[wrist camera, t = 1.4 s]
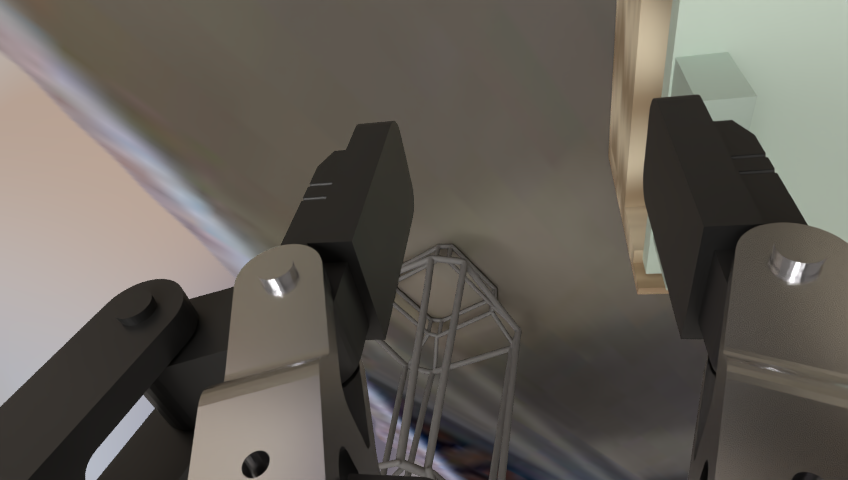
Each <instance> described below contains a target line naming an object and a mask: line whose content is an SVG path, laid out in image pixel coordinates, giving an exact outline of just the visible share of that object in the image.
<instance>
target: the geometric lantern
mask: <svg viewBox="0 0 848 480" xmlns="http://www.w3.org/2000/svg"><path fill="white" fill-rule="evenodd" d="M446 248H448V254H447V256H439V252H440V249H446ZM452 250H453V251H454V252H455V253H456V254H457V255H458V256H459V257H460V258H456V257H451V255H452ZM434 251H435V255H430V256H427V255H429V254H431V253H432V252H434ZM425 256H427V257H425ZM423 257H425V258H423ZM421 258H422V259H421ZM419 259H420V260H419ZM437 262H441V263H448V264H449V265H450V266H451V267H452V268H453V269H454V270H455V271H456V272H457V273H458V274H459V279H458V284H457V290H456V295H455V300H454V306H453V311H452V315H450V316H448V317H445V318H443V319H440V318H431V317H430V316H429V315H427V310H428V303H429V296H430V290H431V282H432V275H433V267H434V264H435V263H437ZM455 264H459V265H461V268H460V269H459V268H458V267H457V266H456V265H455ZM419 266H420V267H419ZM417 267H418V268H417ZM414 268H416V269H414ZM425 268H426V276H425V283H424V289H423V295H422V301H421V308H420V307H418V306H417V305H416V304H415V303H414V302H413V301H412V300H410V299H409V298H408V297H407V296H406V295H405V294H404V293H402V292H401V291H400V290H399V289H398V288H397V290H396V292H397V293H398V294H399V295H400V296H401V297H403V298H404V299H405V300H406V301H407V302H408V303H409V304H411V305H412V306H413V307H414V308H415V309H416V310H417V311H419V312H420V314H419V320H418V322H417V321H416V320H415V319H414V318H412V317H411V316H410V315H409V314H408V313H407V312H405V311H404V310H403V309H402V308H401V307H400V306H398V305H397V304H396V303H395V302H394V303H393V306H394V307H395V308H396V309H397V310H398V311H399V312H401V313H402V314H403V315H404V316H405V317H406V318H408V319H409V320H410V321H411V322H412V323H414V324H415V325H416V326H417V332H416V338H415V344H414V351H413V356H412V358H411V359H410V361H409V363H406V362H405V361H404V360H403V359H402V358H401V357H400V356H399V355H398V354H397V353H396V352H395V351H394V350H393V349H392V348H391V347H390V346H389V345H388V344H387V343H386V342H385V341H384V340H375V341H376V342H377V343H379V344H380V345H381V346H382V347H383V348H384V349H385V350H386V351H387V352H388V353H389V354H390V355H391V356H392V357H393V358H394V359H395V360H396V361H397V362H398V363H400V364H401V365H402V366H403V368H402V373H401V378H400V382H399V387H398V392H397V396H396V401H395V406H394V410H393V415H392V420H391V424H390V429H389V434H388V439H387V443H386V448H385V453H384V458H383V462H382V463H378V465H379V469H381V472H380V473H381V475H386V474H387V469H388V468H390V467H395V466H398V467H399V468H398V470H397V471H396V472H395V473H394V474H393V475H392V476H399V475H400V474H401V473H402V472H403V470H405V475H404V476H411V474H412V473H413V474H416V475H418V476H421V477H428V478H431V479H434V480H445V479H444V478H443V477H442V476H441V475H439V474H438V473H437V472H436V471H435V470H433V469H432V464H433V458H434V452H435V447H436V441H437V436H438V431H439V425H440V419H441V414H442V408H443V403H444V397H445V391H446V386H447V380H448V374H449V370H451V369H454V368H458V367H461V366H464V365H468V364H471V363H474V362H478V361H481V360H484V359H488V358H491V357H494V356H498V355H501V354H505V353H508V352H509V353H508V359H507V366H506V372H505V379H504V385H503V392H502V398H501V405H500V411H499V417H498V424H497V430H496V437H495V443H494V450H493V456H492V463H491V469H490V476H489V480H496V477H497V470H498V463H499V456H500V464H499V473H498V480H505V478H506V468H507V459H508V449H509V440H510V430H511V421H512V411H513V402H514V392H515V383H516V374H517V364H518V355H519V346H520V337H521V328H520V327H519V326H518V325H517V324H516V323H515V321H514V320H513V319H512V318H511V316H510V315H509V314H508V312H507V311H506V310H505V309H504V307H503V306H502V305H501V304H500V302H499V301H498V300H497V288H496V287H495V286H494V285H493V284H492V283H491V282H490V281H489V280H488V279H487V278H486V277H485V276H484V275H483V274H482V273H481V272H480V271H479V270H478V269H477V268H476V267H475V266H474V265H473V264H472V263H471V262H470V261H469V260H468V259H467V258H466V257H465V256H464V255H463V254H462V253H461V252H460V251H459V250H458V249H457V248H456V247H455V246H454V245H453V244H443V245H437V246H435V247H433V248H431V249H429V250H428V251H426V252H424V253H422V254H420V255H418V256H416V257H414V258H413V259H411V260H409V261H407V262H405V263H403V264H402V268H401V272H400V274H401V273H404V272H407V271H409V270H412V269H414V270H412V271H410V272H408V273H406V274H404V275H402V276H400V277H399V281H401V280H403V279H405V278H407V277H409V276H411V275H413V274H415V273H417V272H419V271H421V270H423V269H425ZM466 272H468V273H469V275H470V276H471V277H472V278H473V280H474V281H475V282H476V283H477V285H478V286H479V287H480V288H481V290H482V291H483V292H484V293H485V295H486V296H487V297H488V298H487V297H486V296H485V295H484V294H483V293H482V292H481V291H480V290H479V289H478V288H477V287H476V286H475V285H474V284H473V283H472V282H471V281H470V280H469V279H468V278H467V276H466ZM478 275H479V276H480V277H481V278H482V279H483V280H484V281H485V282H486V283H487V284H488V285H489V286H490V287H491V288H492V291H490V290H489V288H488V287H487V286H486V284H485V283H484V282H483V281H482V279H481V278H480V277H479V276H478ZM399 281H398V282H399ZM465 281H466V282H467V283H468V284H469V285H470V286H471V287H472V288H473V289H474V290H475V291H476V292H477V293H478V294H479V295H480V296H481V297H482V298H483V299H484V301H481V302H479V303H477V304H475V305H472V306H470V307H468V308H466V309H463V310H461V311H460V307H461V301H462V296H463V290H464V284H465ZM486 303H487V304H488V305H489V306H490V308H489V311H488V312H486V313H484V314H481V315H479V316H477V317H475V318H473V319H470V320H468V321H466V322H464V323H461V324H459V325H457V324H458V318H459V315H461V314H464V313H466V312H468V311H470V310H473V309H475V308H477V307H479V306H482V305H484V304H486ZM494 310H495V311H496V312H497V313H498V314H499V315H500V316H502V317H503V318H504V319H505V320H506V321H507V322H508V323H509V325H510V326H511V327H512V328H513V330H514V331H515V335H514V338H513V340H512V338H511V336H510V335H509V333H508V332H507V330H506V329H505V327H504V326H503V324H502V323H501V321H500V320H499V318H498V317H497V315H496V314H495V312H494ZM489 315H492V316H493V318H494V319H495V321H496V322H497V324H498V326H499V327H500V329H501V330H502V332H503V333H504V335H505V336H506V338H507V339H508V341H509V342H510V344H511V345H510V346H507V347H504V348H500V349H497V350H494V351H491V352H487V353H484V354H481V355H477V356H474V357H471V358H468V359H464V360H461V361H458V362H454V363H451V357H452V352H453V346H454V341H455V335H456V330H458V329H460V328H462V327H464V326H466V325H469V324H471V323H473V322H475V321H478V320H480V319H482V318H484V317H487V316H489ZM426 318H427V319H428V320H429V324H428V328H427V330H426V329H425V323H426ZM450 319H451V322H450V327H449V329H448V330H446V331H444V332H442V326H443V322H445V321H448V320H450ZM433 322H440V323H439V328H438V334H435V333H431V332H430V331H431V327H432V323H433ZM441 332H442V333H441ZM424 333H425V334H426V335H425V337H424V338H423V336H424ZM446 334H448V338H447V343H446V348H445V354H444V359H443V364H442V366H441V367H438V368H437V356H438V338H440V337H442V336H444V335H446ZM429 336H432V337H435V343H434V361H433V369H432V370H430V369H426V368H422V367H419V363H420V356H421V349H422V347H423V345H424V344H425V342H426V340H427V339H428V337H429ZM450 363H451V364H450ZM408 369H409V370H410V375H409V381H408V388H407V394H406V400H405V406H404V412H403V418H402V424H401V430H400V436H399V442H398V448H397V454H396V460H391V461H389V459H390V454H391V449H392V444H393V439H394V434H395V430H396V425H397V420H398V415H399V410H400V405H401V400H402V395H403V390H404V385H405V380H406V376H407V371H408ZM418 372H420V373H424V374H428V375H429V377H428V381H427V385H426V388H425V392H424V396H423V400H422V405H421V409H420V413H419V417H418V421H417V425H416V430H415V434H414V438H413V442H412V446H411V450H410V455H409V459H408V461H406V460H405V454H406V448H407V442H408V435H409V429H410V422H411V416H412V409H413V403H414V396H415V389H416V383H417V376H418ZM438 373H441V375H440V380H439V385H438V391H437V396H436V401H435V407H434V412H433V417H432V423H431V428H430V434H429V440H428V446H427V452H426V458H425V464H424V467H421V466H419V465H416V464H414V461H415V456H416V452H417V448H418V443H419V439H420V435H421V430H422V426H423V421H424V417H425V413H426V408H427V404H428V400H429V396H430V392H431V387H432V383H433V379H434V376H435V374H438ZM502 436H503V438H502ZM501 443H502V447H501ZM500 450H501V455H500Z"/></svg>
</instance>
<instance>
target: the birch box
mask: <svg viewBox="0 0 848 480" xmlns="http://www.w3.org/2000/svg"><path fill="white" fill-rule="evenodd" d="M672 1H673V0H617V7H616V26H615V44H614V63H613V82H612V101H611V120H610V138H609V161H610V166H611V170H612V175H613V180H614V185H615V189H616V194H617V199H618V204H619V208H620V213H621V218H622V223H623V227H624V232H625V237H626V242H627V246H628V251H629V256H630V261H631V265H632V270H633V275H634V280H635V284H636V289H637V294H669V292H668V290H666V288H665V284H664V280H663V276H662V273H659V274H646V272H645V268H644V264H643V250H644V241H645V233H646V224H647V216H648V213H647V210H646V206H645V201H644V193H643V169H644V159H645V150H646V140H647V130H648V120H649V111H650V105H651V102H652V100H653V98H661V95H662V87H663V78H664V69H665V61H666V52H667V44H668V35H669V26H670V18H671V9H672Z"/></svg>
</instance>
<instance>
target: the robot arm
mask: <svg viewBox="0 0 848 480" xmlns="http://www.w3.org/2000/svg"><path fill="white" fill-rule="evenodd" d="M643 193H644V201H645V206H646V210H647V213H648V217H649V221H650V225H651V228H652V232H653V236H654V240H655V243H656V247H657V251H658V254H659V258H660V262H661V266H662V269H663V273H664V277H665V281H666V284H667V288H668V292H669V296H670V299H671V303H672V307H673V311H674V314H675V318H676V322H677V326H678V329H679V333H680V337H681V339H704V342H705V346H706V349H707V352H708V357H707V361H706V365H705V369H704V373H703V380H702V387H701V394H700V400H699V407H698V414H697V421H696V428H695V435H694V441H693V448H692V455H691V462H690V469H689V475H688V480H848V243H847V242H845V241H844V240H842V239H841V238H839V237H838V236H836V235H834V234H832V233H830V232H827V231H825V230H822V229H819V228H816V227H813V226H809V225H808V224H807V223H806V221H805V219H804V217H803V216H802V214H801V212H800V211H799V209H798V207H797V206H796V204H795V202H794V200H793V199H792V197H791V195H790V194H789V192H788V190H787V189H786V187H785V185H784V184H783V182H782V180H781V178H780V177H779V175H778V173H775V168H774V167H773V165H772V163H771V161H770V160H769V158H768V157H766V153H765V151H764V150H763V148H762V146H761V144H760V143H759V141H758V139H757V138H756V136H755V135H754V134H753V133H751V132H750V131H748V130H747V129H745V128H744V127H742V126H741V125H739V124H738V123H736V122H735V121H733V120H724V121H713V120H712V118H711V116H710V114H709V112H708V110H707V108H706V106H705V104H704V102H703V100H702V98H701V96H700V95H699V94H694V95H683V96H672V97H661V98H653V100H652V102H651V105H650V111H649V120H648V130H647V140H646V150H645V159H644V169H643ZM303 199H304V201H301V203H300V205H299V207H298V210H297V212H296V214H295V216H294V218H293V220H292V222H291V224H290V227H289V229H288V231H287V233H286V235H285V237H284V239H283V241H282V244H281V246H277V247H274V248H271V249H269V250H266V251H264V252H262V253H261V254H259V255H257V256H256V257H254V258H253V259H251V260H250V261H249V262H248V263H247V264H246V265H245V266H244V267H243V268H242V269H241V271H240V272H239V274H238V275H237V278H236V280H235V284H234V287H231V288H228V289H225V290H221V291H218V292H213V293H210V294H206V295H203V296H199V297H196V298H192V299H188V297H187V296H186V294H185V292H184V291H183V289H182V288H181V287H180V285H179V284H177V283H176V282H174V281H171V280H167V279H155V280H150V281H146V282H142V283H139V284H137V285H135V286H132V287H130V288H128V289H126V290H125V291H123V292H121V293H120V294H118V295H117V296H116V297H114V298H113V299H112V300H111V301H110V302H108V303H107V304H106V305H105V306H104V307H103V308H102V309H101V310H100V311H99V312H98V313H97V314H96V315H95V316H94V317H93V318H92V319H91V320H90V321H89V322H88V323H86V325H84V326H83V327H82V328H81V329H80V331H78V332H77V333H76V334H75V335H74V336H73V337H72V338H71V339H70V340H69V341H68V342H67V343H66V344H65V345H64V346H63V347H62V348H61V349H60V350H59V351H58V352H57V353H56V354H54V355H53V356H52V357H51V359H50V360H48V361H47V362H46V363H45V364H44V365H43V366H42V367H41V368H40V369H39V370H38V371H37V372H36V373H35V374H34V375H33V376H32V377H31V378H30V379H29V380H28V381H27V382H26V383H25V384H24V385H23V386H21V387H20V388H19V389H18V390H17V391H16V392H15V393H14V394H13V395H12V396H11V397H10V398H9V399H8V400H7V401H6V402H5V403H4V404H3V405H2V406H1V407H0V480H85V471H86V468H87V464H88V462H89V460H90V458H91V456H92V455H93V453H94V452H95V451H96V449H97V448H98V447H99V446H100V444H102V442H103V441H104V440H105V439H106V438H107V436H108V435H109V434H110V433H111V432H112V431H113V429H114V428H115V427H116V426H117V425H118V424H119V422H120V421H121V420H122V419H123V418H124V416H125V415H126V414H127V413H128V412H129V411H130V409H131V408H132V407H133V406H134V405H135V403H136V402H137V401H138V400H139V399H140V398H141V396H142V395H144V396H145V397H146V398H147V399H148V401H149V402H150V403H151V404H152V405H153V406H154V407H155V409H154V410H153V411H152V413H151V414H150V415H149V416H148V418H147V419H146V420H145V421H144V423H143V424H142V425H141V426H140V427H139V429H138V430H137V431H136V432H135V434H134V435H133V436H132V437H131V438H130V440H129V441H128V442H127V443H126V445H125V446H124V447H123V448H122V450H121V451H120V452H119V453H118V454H117V456H116V457H115V458H114V459H113V461H112V462H111V463H110V464H109V465H108V467H107V468H106V469H105V470H104V472H103V473H102V474H101V475H100V476H99V478H98V479H97V480H434V479H431V478H428V477H412V476H391V475H381V473H380V469H379V465H378V460H377V454H376V447H375V440H374V432H373V425H372V418H371V411H370V403H369V396H368V389H367V382H366V375H365V369H364V365H363V362H362V360H361V355H362V351H363V347H364V343H365V340H385V339H386V335H387V330H388V326H389V321H390V317H391V312H392V308H393V303H394V299H395V294H396V290H397V285H398V281H399V276H400V272H401V268H402V263H403V259H404V254H405V250H406V245H407V241H408V236H409V232H410V227H411V223H412V218H413V212H414V195H413V188H412V183H411V178H410V174H409V169H408V165H407V161H406V156H405V152H404V147H403V143H402V138H401V134H400V130H399V127H398V125H397V123H396V122H395V121H388V122H377V123H366V124H358V125H357V126H356V128H355V130H354V132H353V135H352V137H351V140H350V142H349V144H348V147H347V149H346V150H342V151H334V152H333V153H332V154H331V155H330V156H329V157H328V158H327V159H326V160H324V161H323V162H322V163H321V164H320V165H319V166H318V167H317V169H316V171H315V174H314V176H313V178H312V180H311V182H310V187H308V188H307V191H306V193H305V195H304V197H303Z"/></svg>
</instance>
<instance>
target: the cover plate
mask: <svg viewBox="0 0 848 480" xmlns="http://www.w3.org/2000/svg"><path fill="white" fill-rule="evenodd" d="M694 94H699V95H700V96H701V98H702V100H703V102H704V104H705V106H706V108H707V110H708V112H709V114H710V116H711V118H712V120H713V121H724V120H733V121H735V122H736V123H738V124H739V125H741V126H742V127H744V128H745V129H747V130H748V131H750V132H751V133H753V134H754V135H755V136H756V138H757V139H758V141H759V143H760V144H761V146H762V148H763V150H764V151H765V153H766V157H768V158H769V160H770V161H771V163H772V165H773V167H774V168H775V173H778V175H779V177H780V178H781V180H782V182H783V184H784V185H785V187H786V189H787V190H788V192H789V194H790V195H791V197H792V199H793V200H794V202H795V204H796V206H797V207H798V209H799V211H800V212H801V214H802V216H803V217H804V219H805V221H806V223H807V224H808V225H809V226H813V227H816V228H819V229H822V230H825V231H827V232H830V233H832V234H834V235H836V236H838V237H839V238H841V239H842V240H844V241H845V242H847V243H848V0H673V1H672V9H671V18H670V26H669V35H668V44H667V52H666V61H665V69H664V78H663V87H662V95H661V97H672V96H683V95H694ZM643 264H644V268H645V272H646V274H659V273H662V276H663V280H664V284H665V288H666V290H668V288H667V284H666V281H665V277H664V273H663V269H662V266H661V262H660V258H659V254H658V251H657V247H656V243H655V240H654V236H653V232H652V228H651V225H650V221H649V217H648V216H647V224H646V233H645V241H644V250H643Z"/></svg>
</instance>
